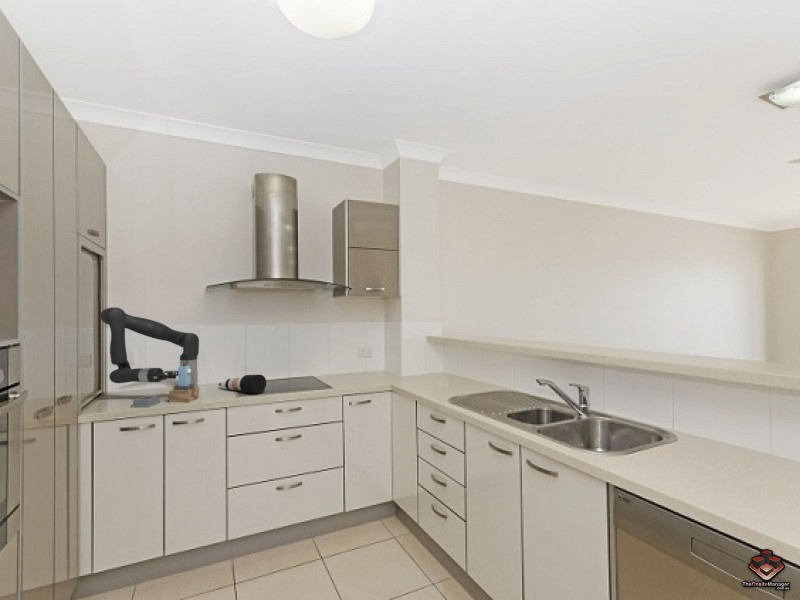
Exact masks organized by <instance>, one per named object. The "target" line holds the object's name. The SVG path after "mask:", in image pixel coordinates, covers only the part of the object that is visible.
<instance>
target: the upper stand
mask: <svg viewBox="0 0 800 600" xmlns="http://www.w3.org/2000/svg"><path fill="white" fill-rule="evenodd" d="M199 390H200V388H199V386H197V387H195V384H190V385H188V386H178V384H177V385H176V384H175V385H174V386H173V389H170V390H169V391H168V393H169V394H168V397H169V398H168V399H169V400H168V402H185V403H187V404H188V402H189V403H190V402H193V401H196V400H197V399H199V397H200V396H199V395H200V393H199Z"/></svg>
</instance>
